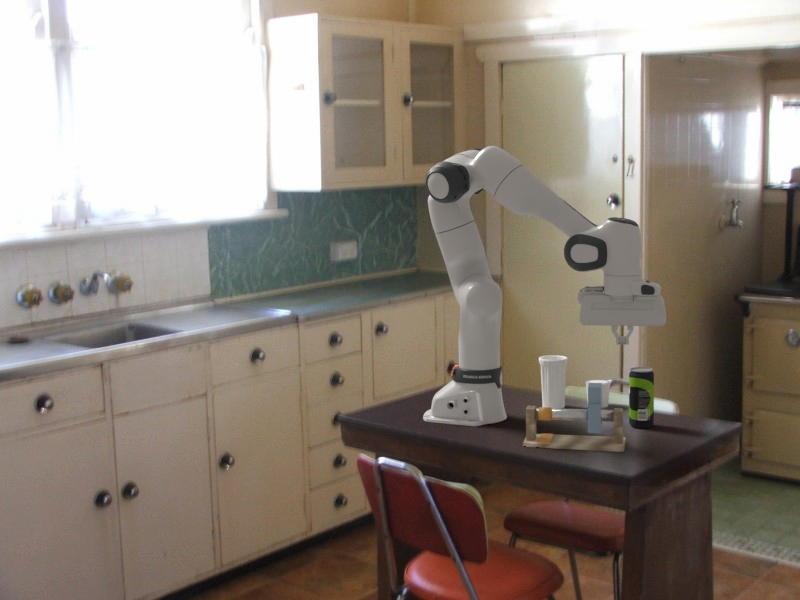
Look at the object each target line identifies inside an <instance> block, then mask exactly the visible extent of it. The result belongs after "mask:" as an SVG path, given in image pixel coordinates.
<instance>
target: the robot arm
mask: <svg viewBox="0 0 800 600" xmlns="http://www.w3.org/2000/svg"><path fill="white" fill-rule="evenodd" d="M425 176H426V177H425V186H426V187H425V188H426V191H427V193H428V197H427V206H428V211H429V213H428V214H429V217H430V221H431V225H432V230H433V231H434V235H435V238H436V241H437V243H438V246H439V249H440V252H441V255H442V257H443V261H444V264H445V268H446V271H447V274H448V278H449V282H450V284H451V287H452V291H453V294H454V298H455V300H456V303H457V304H458V305H459V311H460V312H459V326H458V327H459V330H458V337H457V339H458V340H457V341H458V345H457V346H458V364H454V366H453V367H452V368H451V369H452V370H451V374H450V376H451V379H452V380H451V381H449V382H448V383H447V384H446V385H444V386H443V387H441V388H440V389H439V390H438V391H437V392H435V394H434V396H433V397H432V400H431V407H430V409H427V410H426V411H425V412H424V413H423V416H422V420H423V421H424V422H426V423H427V422H429V423H436V424H437V423H438V424H447V425H455V426H469V427H479V426H483V425H484V426H485V425H488V424H496V423H500V422H503V421H505V420H506V419H507V418H508V416H507V413H506V409H505V406H504V400H503V393H502V387H503V370H502V369H503V367H502V366H501V341H500V340H501V339H500V338H501V330H502V329H501V327H502V316H503V315H502V314H503V313H502V312H503V292H502V289H501V287H500V286H499V284H498V283H497V282H496V281H495V280H494V279H493V277H492V273H491V271H490V268H489V264H488V259H487V256H486V251H485V247H484V244H483V240H482V238H481V235H480V232H479V229H478V225H477V222H476V221H475V218H474V215H473V213H472V209H471V205H470V200H471V198H472V196H473V195H479V194H480V193H481V192H482V191H483V190H484V191H486V192H487V193H488V194H489V195H491V197H492V198H493V199H494V200H496V201H497V203H499V204H500V205H501V206H502V207H504V208H505V209H507V210H508V211H510V212H512V213H514V214H516V215H518V216H523V217H530V218H535V219H539V220H543V221H546V222H548V223H550V224H552V225H553V226H555V227H556V228H557V229H558V230H559V231H561V232H562V233H563V234H564V235H565V236H567V237H568V239H567V241H566V243H564V247H563V256H564V259H565V262H566V264H567V265H568V266H569V267H570V269H572V270H574V271H577V272H581V273H588V272H595V271H598V270H601V271H602V273H603V286H600V285H599V286H584V287H583V288H581V289H580V290H579V291H578V293H577V294H578V295H577V300H578V303H579V304H580V307H579V320H578V321H579V323H580V324H581V325H582V326H605V327H606V326H608V327H609V326H611V328H610V329H611V332H612V333H613V335H614V337H615V342H616V343H615V344H616V345H627V346H628V345H629V344H630V337H631V335H632V333H634V332H633V331H634V328H635V327H663V326H665V324H667V313H666V312H667V311H666V310H667V309H666V305H665V300H664V298H663V295H661V291H662V287H661V285H660V284H659V283H657V282H653V281H650V280H646V279H644V278H643V275H642V273H643V272H642V270H641V259H642V255H643V249H642V247H643V245H642V244H643V243H642V234H641V228H640V226H639V224H638V223H637V221H635V220H632V219H629V218H624V217H617V216H614V217H609V218H607V219H605V220H604V221H603V222H602V223H600V224H595V223H593V222H592V221H591V220H589V219H588V218H587V217H586V216H584V215H583V214H582V213H580V212H579V211H578V210H577V209H576V208H574V207H573V206H572V205H571V204H569V203H568V202H566V201H565V199H563V198H561V197H560V196H559V195H558V194H556V193H555V192H554V190H552V189H551V188H550V187H549V186H548V185H547V184H545V182H544V181H543V180H541V179H540V177H538V176H537V175H536V174H535V173H534V172H533V171H532V170H531V169H530V168H529V167H528V166H527V165H525V164H524V162H521V161H520V160H519V159H518V158H516V157H515V155H512V154H510V153H509V151H506V150H505V149H503V148H501V147H499V146H496V145H489V146H486V147H484V148H481V147H474V148H469V149H468V150H465V151H461V152H458V153H455V154H453V155H452V156H450V157H448V158H446V159H444V160H443V161H439V162H437V163H435V164H434V165H433V166H432V167H431V168H430V169H429V170H428V171H427V174H426V175H425ZM623 326H625V327H626V329H627V331H628V332H627V334H626V336H624V335H623V336H622V335H619V333H618V331H617V330H619V329H618V328H619V327H623Z"/></svg>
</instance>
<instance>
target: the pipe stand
mask: <svg viewBox="0 0 800 600" xmlns="http://www.w3.org/2000/svg"><path fill="white" fill-rule="evenodd" d="M537 420H538V421H546V422H547V421H574V422H575V421H576V422H577V421H579V422H581V421H582V422H588V408H587V409H586V408H585V409H584V408H561V409H558V408H552V407H542V406H539V407H537V405H527V407H526V408H525V438H524V439H523V442H522V447H523V446H526V447H525V448H536V447H539V449H540V448H541V449H555V450H557V449H559V450H577V451H578V450H579V451H580V450H581V451H595V452H596V451H597V452H598V451H599V452H618V453H619V452H621V453H624V452H625V449H626V437H625V436H624V408H622V407H621V408H620V407H615V408H614V409H602V410H601V421H602V423H605V422H607V423H609V422H610V423H613V436H606V435H605V436H604V435H602V436H601V435H575V434H554V433H545V432H544V433H537Z"/></svg>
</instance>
